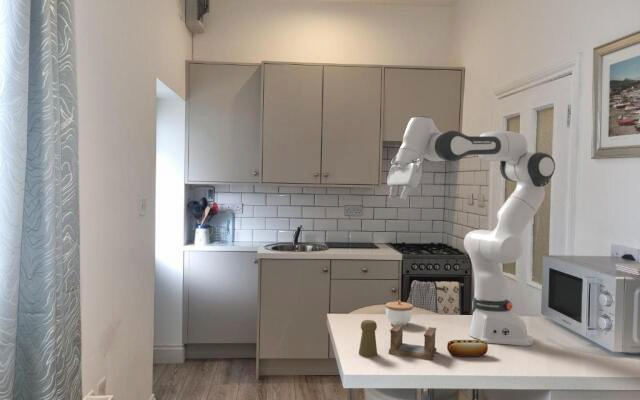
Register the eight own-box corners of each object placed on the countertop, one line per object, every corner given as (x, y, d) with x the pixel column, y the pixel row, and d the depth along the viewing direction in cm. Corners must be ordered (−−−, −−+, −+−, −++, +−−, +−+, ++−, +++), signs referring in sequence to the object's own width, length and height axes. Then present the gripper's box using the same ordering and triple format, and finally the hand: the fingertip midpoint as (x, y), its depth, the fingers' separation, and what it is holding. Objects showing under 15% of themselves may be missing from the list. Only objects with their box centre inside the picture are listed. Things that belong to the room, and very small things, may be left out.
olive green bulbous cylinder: (365, 358, 162) (366, 323, 162) (355, 352, 168) (356, 319, 167) (380, 355, 165) (381, 322, 165) (370, 350, 170) (371, 317, 170)
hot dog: (490, 358, 165) (490, 343, 165) (449, 358, 164) (450, 343, 164) (484, 353, 170) (485, 338, 170) (445, 353, 169) (445, 338, 169)
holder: (436, 351, 171) (437, 328, 170) (431, 360, 162) (432, 335, 162) (395, 345, 176) (395, 323, 176) (388, 353, 167) (389, 330, 167)
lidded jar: (396, 319, 211) (397, 296, 210) (417, 324, 203) (418, 301, 202) (379, 323, 203) (380, 300, 203) (400, 329, 195) (401, 305, 195)
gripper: (430, 162, 166) (417, 202, 165) (405, 165, 186) (394, 201, 185) (413, 155, 165) (400, 196, 164) (390, 159, 185) (378, 195, 184)
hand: (396, 198), depth 175 cm, fingers open, 8 cm apart
